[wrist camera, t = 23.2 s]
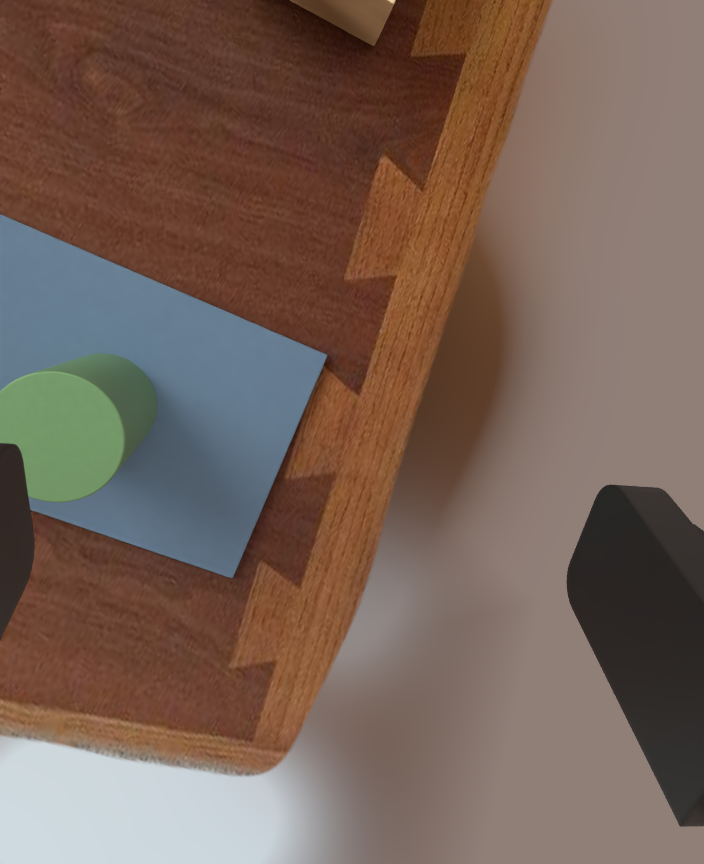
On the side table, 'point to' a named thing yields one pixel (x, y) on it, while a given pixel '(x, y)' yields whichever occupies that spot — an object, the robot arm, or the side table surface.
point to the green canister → (77, 423)
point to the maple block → (353, 15)
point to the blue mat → (161, 395)
